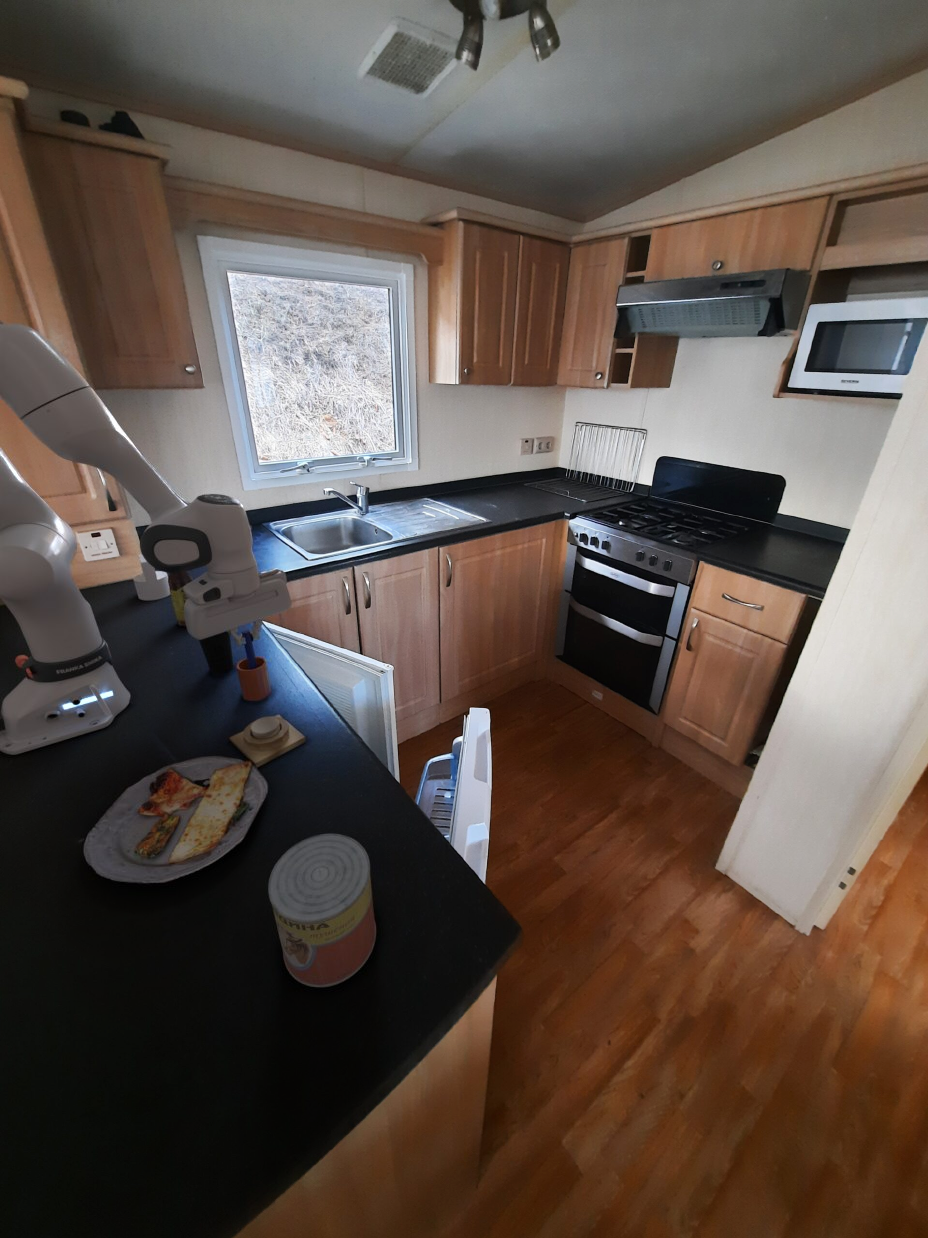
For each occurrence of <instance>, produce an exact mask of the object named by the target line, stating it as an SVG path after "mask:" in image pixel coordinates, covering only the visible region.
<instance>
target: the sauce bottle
mask: <svg viewBox="0 0 928 1238" xmlns="http://www.w3.org/2000/svg"><path fill="white" fill-rule="evenodd" d="M193 580H194V578H193V576H192V575H191V573H190V572H189V570H188V571H183V572H178V573H168V583H169V587H170V588H169V590H170V598H171V603H172V608H173V611H174V617H175V619H176V622H177V625H179V626H181V627H186V622H185V615H184V604H185V602H186V600H187V599H188V597H187V596H186V595H185V593H184V591H183V587H184V586H185V585H186V584H188V583H190V582H191V581H193Z"/></svg>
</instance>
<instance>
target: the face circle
mask: <svg viewBox="0 0 928 1238" xmlns="http://www.w3.org/2000/svg"><path fill="white" fill-rule="evenodd" d="M254 721H255V722H254ZM254 721H252V722H253V724H252V725H251V732H252V736H253V737H254V738H255V739H260V740H262V739H268V738H271V737H273V736H275V735H277V734H278V733H279V731H280V723H279V720H278V719H277V718H275V717H271V716H264V717H260V718H257V719H256V720H254Z"/></svg>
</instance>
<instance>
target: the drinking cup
mask: <svg viewBox="0 0 928 1238" xmlns="http://www.w3.org/2000/svg"><path fill="white" fill-rule="evenodd" d="M231 639H232V638H231V634H230V633H228V632H227V631H225V632H222V633H219V634H216V635H214V636H211V637H208V638H205V639H202V640H198V642H199V644H200V646H201V647H200V648H201V649H202V653H203V655H204V658H205V660H206V664H207V666H208V668H209V670H210V673H211V674H212V675H215V676H216V675H224V674H228V673H230V672H231V671H232V670H233V669H234V659H233V650H232V642H231V641H232V640H231Z"/></svg>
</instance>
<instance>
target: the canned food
mask: <svg viewBox="0 0 928 1238" xmlns="http://www.w3.org/2000/svg"><path fill="white" fill-rule="evenodd" d="M267 891H268V899H269V901H270V904H271V907H272V911H273V915H274V920H275V923H276V928H277V933H278V937H279V940H280V945H281V949H282V956H283V961H284V965H285V967H286V970H287V971H288V972H289V975H290V976H291V977H293V978H294V979H295V980H296V981H297V982H298V983H301V984H302V985H304V986H308V987H313V988H328V987H332V986H336V985H338V984H340V983H342V982H345V981H346V980H348V979H350V978H351V977H353V976H354V975H355V974H356V973H357V972H358V971H359V970H361V968H362V967H363V966H364V965H365V964H366V962H367V961H368V959H369V958H370V956H371V954H372V952H373V949H374V948H375V947H374V946H375V943H376V939H377V925H376V921H375V912H374V901H373V890H372V880H371V863H370V858H369V855H368V853H367V851H366V849H365V848H364V847H363V846H362V844H360V842H359V841H357V840H356V839H354V838H352V837H350V836H348V835H344V834H339V833H323V834H317V835H313V836H310V837H308V838H305V839H303V840H301V841H299V842H297V843H295V844H294V845H293V846H291V847H290V848H289V849H288V850H287V851H285V852H284V853H283V854H282V855H281V857H280V858H279V859H278V860H277V862H276V863H275V864H274V866H273V868H272V870H271V872H270V876H269V879H268V883H267Z"/></svg>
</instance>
